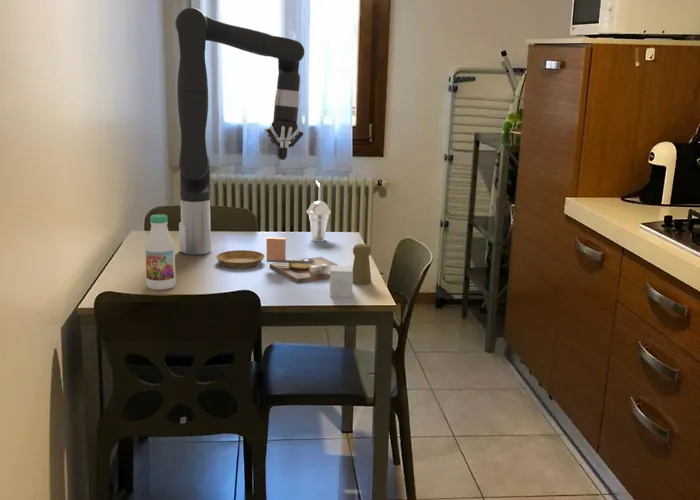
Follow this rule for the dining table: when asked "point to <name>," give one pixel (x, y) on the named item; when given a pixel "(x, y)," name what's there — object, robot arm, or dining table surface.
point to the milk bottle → (160, 255)
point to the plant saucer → (240, 258)
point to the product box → (341, 281)
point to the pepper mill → (361, 264)
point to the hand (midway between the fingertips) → (281, 159)
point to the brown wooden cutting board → (313, 273)
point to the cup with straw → (318, 218)
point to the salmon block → (278, 254)
